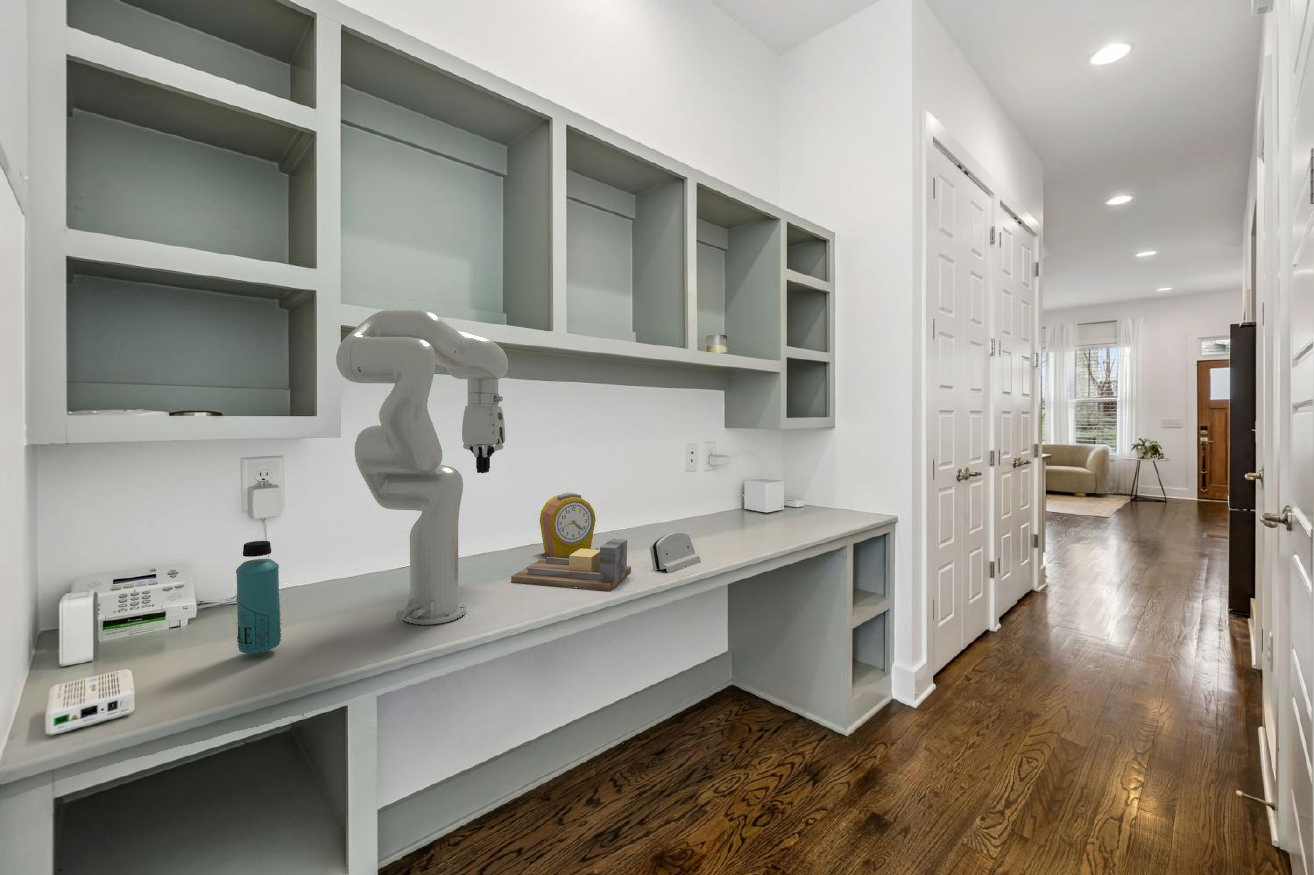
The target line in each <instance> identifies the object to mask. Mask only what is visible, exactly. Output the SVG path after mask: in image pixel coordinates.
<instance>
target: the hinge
mask: <svg viewBox="0 0 1314 875" xmlns="http://www.w3.org/2000/svg"><path fill="white" fill-rule="evenodd" d="M649 551H650V556H651V562H652V569H653V571H654V572H656V571H659V570H666V574H667V573H669V574H672V573H675V572H677V571H680V570H683V569H685V568H684V567H686V566H688V567H691V566H693V564H694V565H696V563H697V564H699V563H701V562H702V561H701V557H700V555H699V554H698V553H696V551H695V547H694V545H693V542H692V540H691V537H690V535H689V534H686V533H683V532H675V533H674V532H673V533H668V534H665V535H663V536H661V537H659V538H657V539H656V540H654V541H653V542H652V543H651V544H650V546H649ZM698 562H699V563H698ZM682 568H683V569H682ZM686 568H687V567H686Z"/></svg>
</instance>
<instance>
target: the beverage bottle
mask: <svg viewBox="0 0 1314 875" xmlns="http://www.w3.org/2000/svg"><path fill="white" fill-rule="evenodd" d="M242 548H243V549H242V550H243V551H242V556H243V557H245V558H246V557H248V558H252V557H254V558H255V557H262V556H267V555H271V554H272V547H271V542H270V541H269V540H253V541H249V542H245V543H244V544H243V547H242ZM279 570H280V565H279V563H277V562H276V561H274V560H272V559H271V558H255V559H250V560H245V561H244V562H243V563H241V564H240V565H239V566H238V567H237V568H236V569H235V574H236V607H237V612H236V615H237V623H236V625H237V637H236V643H237V648H238V651H239V652H240V653H242V654H257V653H263V652H267V651H270V650H273V649H275V648H277V647H278V646H279V645H280V644H281V641H282V629H281V626H282V625H281V624H282V622H281V619H282V617H281V616H282V615H281V614H282V613H281V600H280V579H279V577H280V575H279V574H280V573H279Z"/></svg>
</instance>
